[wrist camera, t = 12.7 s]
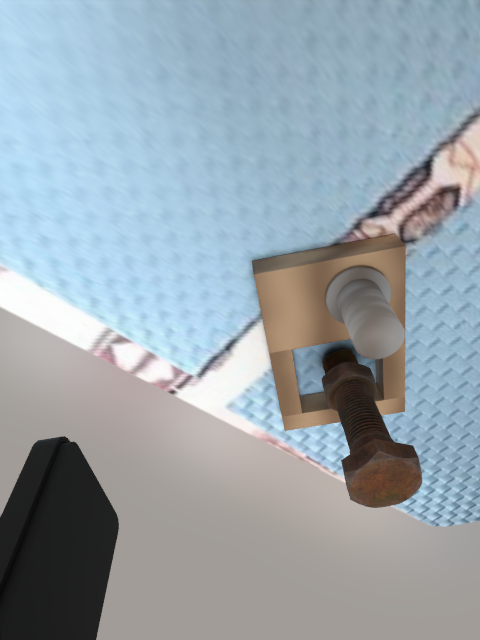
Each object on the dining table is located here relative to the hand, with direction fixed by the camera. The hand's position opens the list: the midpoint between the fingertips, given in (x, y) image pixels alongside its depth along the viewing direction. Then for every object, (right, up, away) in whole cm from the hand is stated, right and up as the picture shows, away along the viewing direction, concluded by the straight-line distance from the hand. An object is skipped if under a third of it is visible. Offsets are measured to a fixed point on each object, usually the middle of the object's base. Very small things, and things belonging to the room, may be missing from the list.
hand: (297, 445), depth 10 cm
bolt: (+8, -1, +35) cm, 36 cm away
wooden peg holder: (+7, +1, +33) cm, 34 cm away
